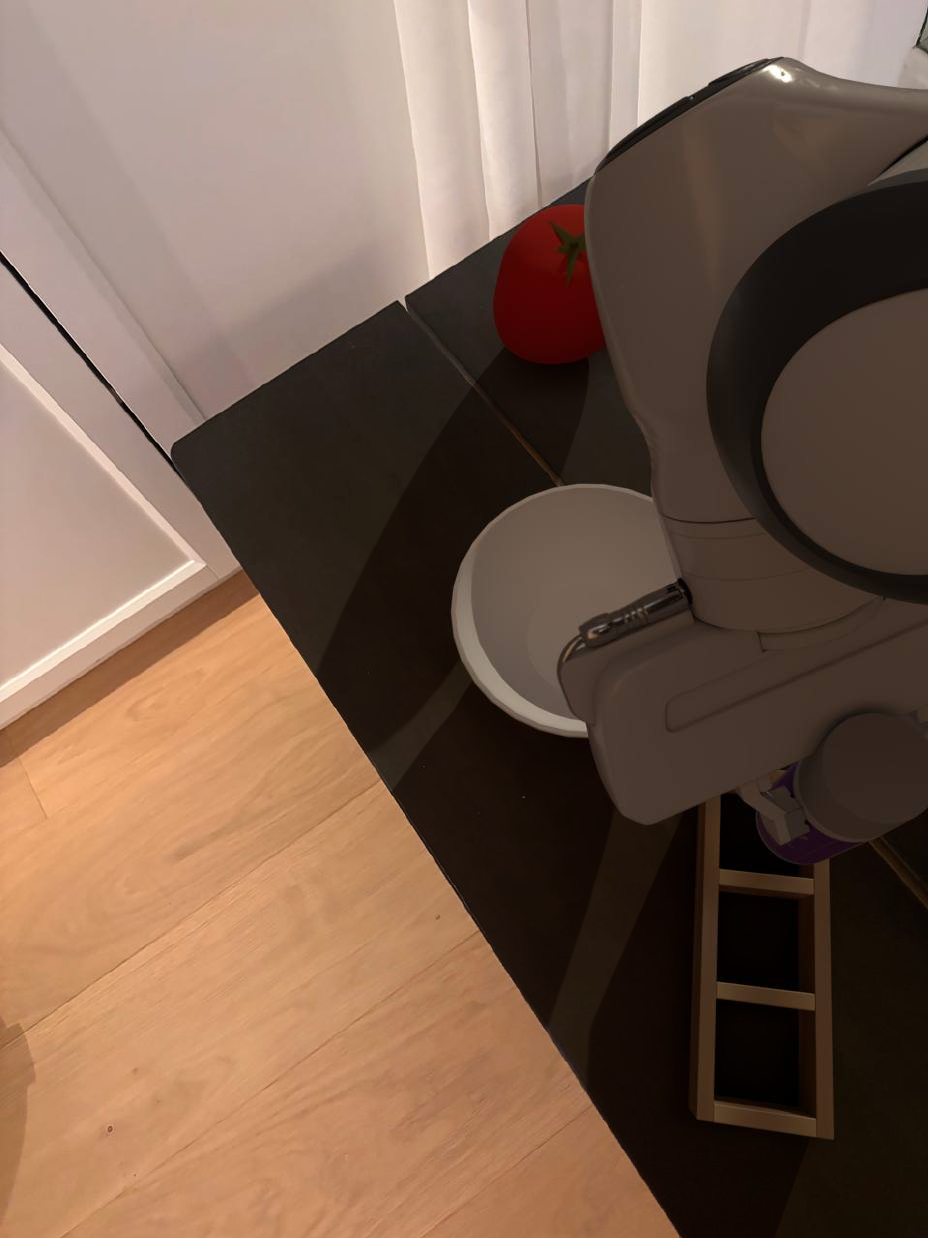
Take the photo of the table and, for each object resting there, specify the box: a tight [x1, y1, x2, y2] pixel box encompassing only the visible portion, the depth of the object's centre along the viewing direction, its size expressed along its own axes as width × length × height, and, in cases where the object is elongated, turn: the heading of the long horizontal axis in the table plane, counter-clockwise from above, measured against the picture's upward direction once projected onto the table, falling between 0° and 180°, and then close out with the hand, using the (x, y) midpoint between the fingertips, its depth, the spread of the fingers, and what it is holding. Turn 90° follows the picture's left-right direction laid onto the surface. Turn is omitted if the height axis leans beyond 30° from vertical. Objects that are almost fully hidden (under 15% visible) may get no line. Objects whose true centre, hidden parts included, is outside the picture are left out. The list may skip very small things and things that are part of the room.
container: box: [755, 713, 928, 865], centre depth 43 cm, size 5×5×15 cm
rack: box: [688, 769, 835, 1141], centre depth 61 cm, size 8×22×5 cm, turn 173°
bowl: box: [450, 483, 677, 739], centre depth 69 cm, size 20×19×8 cm
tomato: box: [492, 204, 607, 365], centre depth 78 cm, size 12×14×11 cm
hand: (848, 805), depth 41 cm, fingers closed on container, 5 cm apart
